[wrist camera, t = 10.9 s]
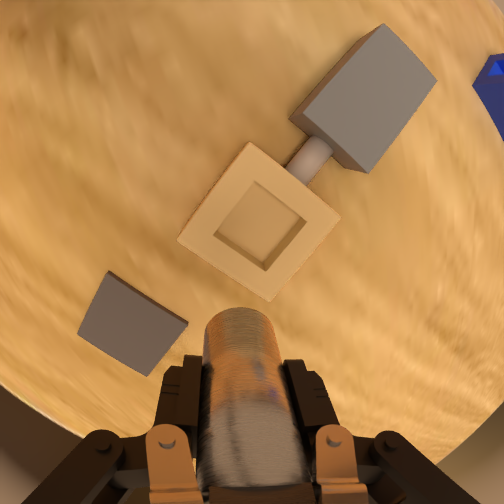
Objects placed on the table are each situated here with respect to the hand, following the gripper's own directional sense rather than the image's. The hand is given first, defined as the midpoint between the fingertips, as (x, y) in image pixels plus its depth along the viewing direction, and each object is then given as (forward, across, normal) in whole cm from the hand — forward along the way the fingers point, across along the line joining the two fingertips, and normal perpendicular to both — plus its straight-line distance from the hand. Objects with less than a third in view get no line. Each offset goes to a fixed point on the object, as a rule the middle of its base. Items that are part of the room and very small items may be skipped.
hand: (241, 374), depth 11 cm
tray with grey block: (+17, -6, -9) cm, 21 cm away
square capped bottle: (+3, 0, 0) cm, 3 cm away
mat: (+17, +11, +11) cm, 23 cm away
